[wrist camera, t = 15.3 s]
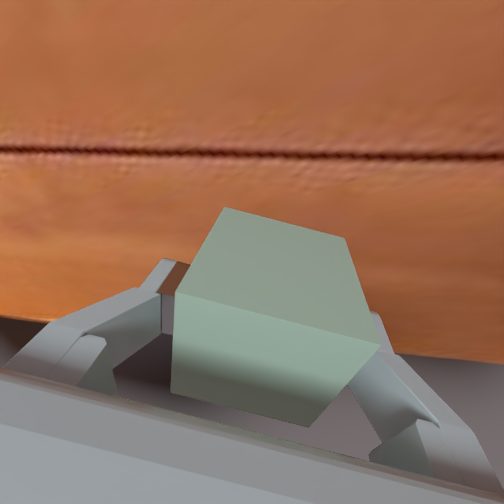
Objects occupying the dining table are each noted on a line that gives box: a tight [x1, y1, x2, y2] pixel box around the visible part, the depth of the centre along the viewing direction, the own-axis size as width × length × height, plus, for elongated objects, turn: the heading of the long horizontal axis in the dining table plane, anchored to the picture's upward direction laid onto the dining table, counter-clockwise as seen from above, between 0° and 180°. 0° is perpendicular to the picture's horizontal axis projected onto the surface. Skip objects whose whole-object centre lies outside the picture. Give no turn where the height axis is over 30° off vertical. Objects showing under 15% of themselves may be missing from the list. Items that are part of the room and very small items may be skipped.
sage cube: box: [171, 207, 381, 427], centre depth 8 cm, size 4×4×4 cm
